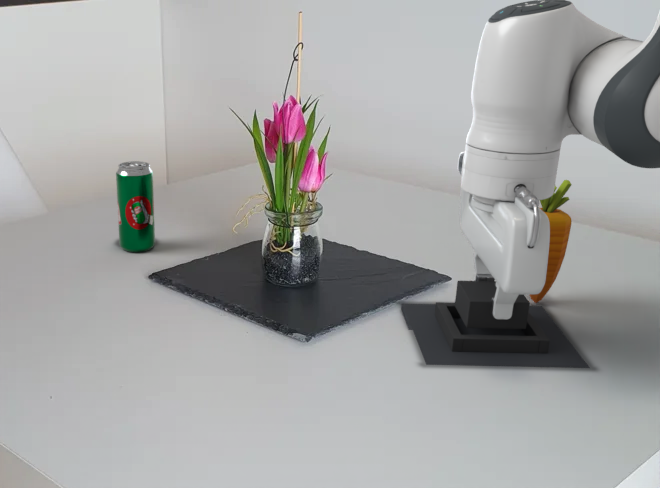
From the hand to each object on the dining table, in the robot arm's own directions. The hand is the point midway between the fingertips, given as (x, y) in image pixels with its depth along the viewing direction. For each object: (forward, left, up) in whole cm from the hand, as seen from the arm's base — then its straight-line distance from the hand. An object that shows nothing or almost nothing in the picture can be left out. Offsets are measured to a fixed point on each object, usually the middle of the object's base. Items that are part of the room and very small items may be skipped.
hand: (491, 302), depth 88 cm
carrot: (-8, -11, -4) cm, 14 cm away
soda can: (+42, -29, -4) cm, 51 cm away
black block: (0, 0, -2) cm, 2 cm away
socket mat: (0, 0, -4) cm, 4 cm away
